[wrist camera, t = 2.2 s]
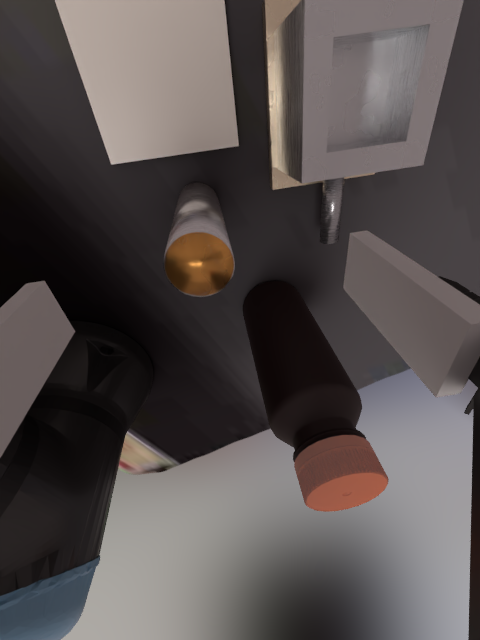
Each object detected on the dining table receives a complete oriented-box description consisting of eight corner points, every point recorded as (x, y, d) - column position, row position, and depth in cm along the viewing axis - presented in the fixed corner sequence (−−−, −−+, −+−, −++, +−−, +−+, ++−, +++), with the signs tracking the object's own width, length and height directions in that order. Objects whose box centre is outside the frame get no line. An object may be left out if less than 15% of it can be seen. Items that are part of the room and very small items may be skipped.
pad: (113, 163, 22) (111, 164, 21) (47, -32, 16) (41, -38, 15) (237, 145, 22) (238, 145, 22) (217, -52, 16) (218, -59, 16)
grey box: (272, 237, 27) (293, 270, 21) (261, 4, 18) (294, -55, 12) (361, 223, 27) (407, 251, 21) (395, -13, 18) (493, -79, 12)
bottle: (230, 299, 31) (267, 496, 15) (284, 267, 29) (391, 446, 13) (260, 337, 34) (314, 527, 18) (309, 310, 33) (415, 491, 17)
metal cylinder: (183, 227, 26) (173, 301, 15) (173, 185, 23) (154, 237, 13) (221, 221, 26) (238, 290, 15) (215, 179, 24) (229, 225, 13)
